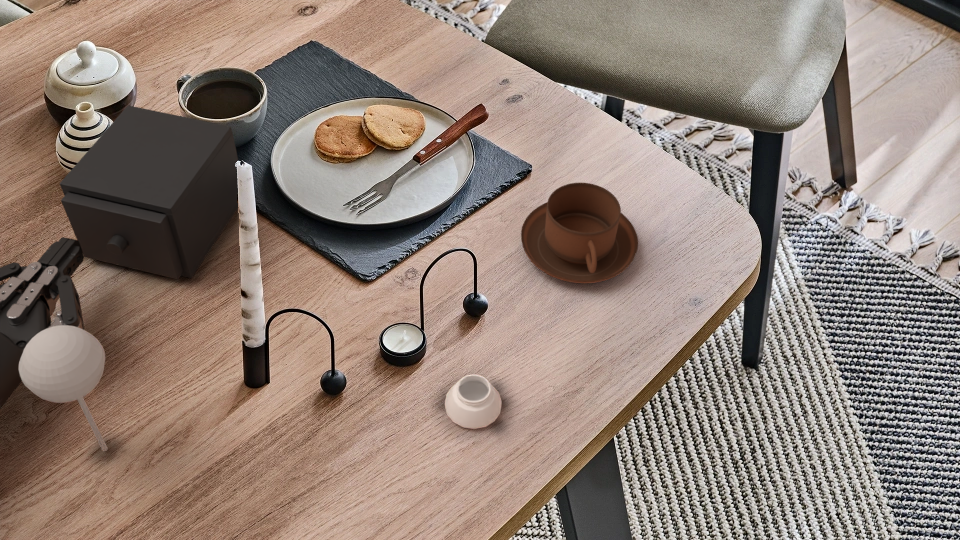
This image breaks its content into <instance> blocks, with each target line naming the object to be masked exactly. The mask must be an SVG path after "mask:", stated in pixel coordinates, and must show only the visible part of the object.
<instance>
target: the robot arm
mask: <svg viewBox="0 0 960 540" xmlns="http://www.w3.org/2000/svg"><path fill="white" fill-rule="evenodd" d="M84 259H85V257H84V255H83V251H82V248H81V246H80V243H79V241H78V240H77V239H73V238H69V237H66V236H65V237H64V236H62V237H60V238H59V240H58V241H55V242H53V243H51V244H50V246H49V247H48V248H47V249H46V250H45V252H44V253H42V255H41V256H40V257H39V259H38V260H37V261H33V262H31V263H29V264H28V265H22V266H21V264H20V262H19V263H18V262H11V263H8V264H5V265H3V266H1V267H0V282H3V281H5V280H7V279H8V280H7V281H6V282H4V283H2V284H0V410H2V408H3V407H4V406H5V405H6V403H7V402H8V401H9V399H10V398H11V397H12V395H13V394H14V393H15V391H16V390H17V389H18V387H19V386H20V385H21V383H23V381H22V379H21V377H20V373H19V362H20V359H21V356H22V354H23V351H24V349H25V347H26V345H27V344H28V342H29V341H30V340H31V339H32V338H33V337H34V336H35V335H36V334H38V333H39V332H41V331H43V330H45V329H47V328H50V327H53V326H61V325H68V326H75V327H78V328H81V329H83V330H85V324H84V319H83V311H82V307H81V306H82V305H81V299H80V295H79V293H78V290H77V288H76V286H75V283H74V281H73V278H72V276H73V275H74V273H75V272H76V271H77V269H78V268H79V267H80V266H81V265H82V263H83V262H84ZM58 301H59V305H60V310H58V311H56V309H57V303H58ZM55 311H56V313H55V314H56V316H55V317H54V321H53V323H52V316H53V314H54V312H55Z"/></svg>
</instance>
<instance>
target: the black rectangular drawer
mask: <svg viewBox="0 0 960 540" xmlns="http://www.w3.org/2000/svg"><path fill="white" fill-rule="evenodd" d="M60 202H61V204H62V207H63V209H64V212H65V214H66V216H67V219H68V221H69V223H70V224H69V225H70V226H71V229H72V231H73V233H74V235H75V239H76V240H78V241H79V243H80V246H81V248H82V251H83V256H84V258H88V259H91V260H96V261H100V262H104V263H108V264H112V265H116V266H121V267H125V268H129V269H133V270H138V271H142V272H146V273H150V274H154V275H158V276H162V277H166V278H170V279H175V280H179V279H180V277H182V276H181V274H182V273H183V271H184V270H183V267H182V264H181V260H180V257H179V254H178V250H177V247H176V244H175V241H174V237H173V234H172V231H171V227H170V224H169V221H168V217H167V215H166V214H165V213H162V212H158V211H154V210H149V209H145V208H141V207H136V206H132V205H127V204H123V203H119V202H114V201H110V200H105V199H101V198H97V197H92V196H88V195H86V196H82V195H78V194H74V193H69V192H67V194H66V195H65V196H64V195H63V196H62V198H61V199H60Z"/></svg>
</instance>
